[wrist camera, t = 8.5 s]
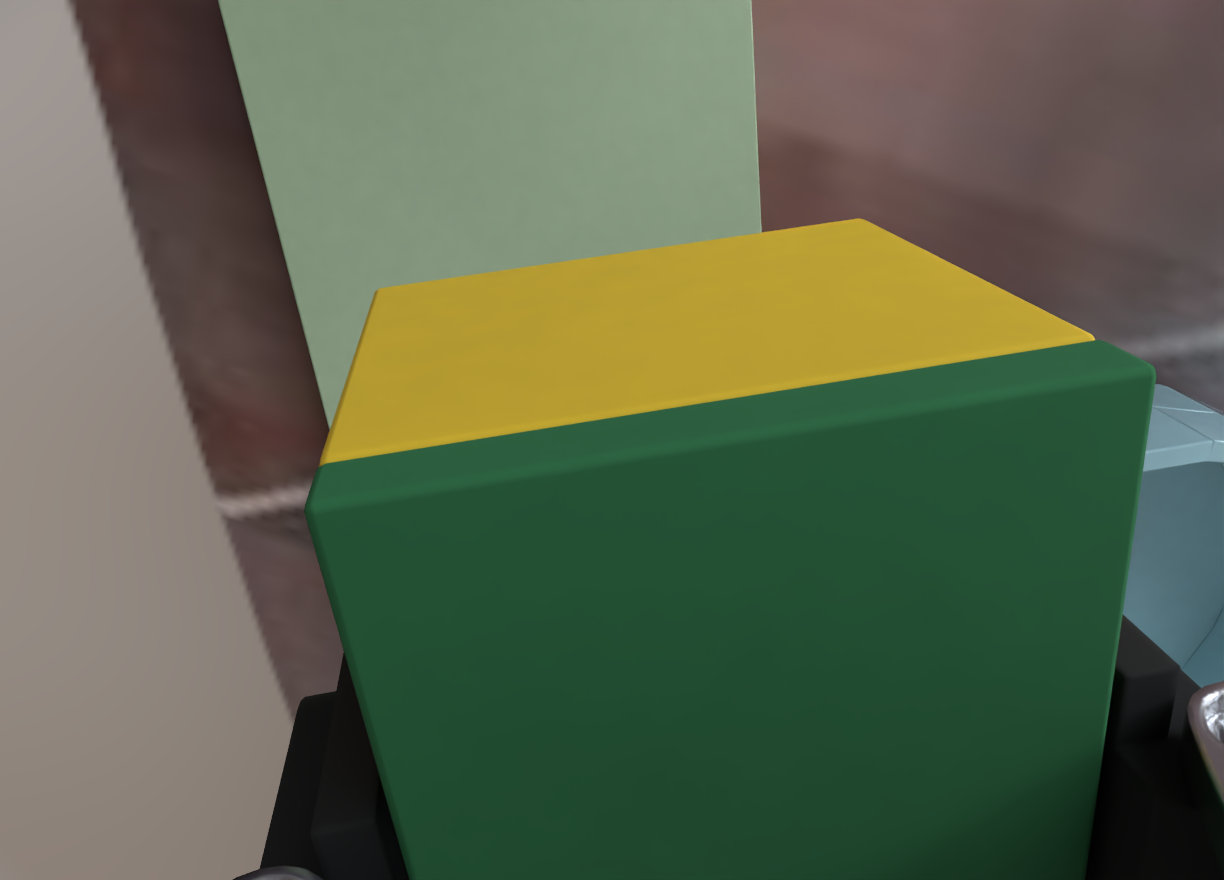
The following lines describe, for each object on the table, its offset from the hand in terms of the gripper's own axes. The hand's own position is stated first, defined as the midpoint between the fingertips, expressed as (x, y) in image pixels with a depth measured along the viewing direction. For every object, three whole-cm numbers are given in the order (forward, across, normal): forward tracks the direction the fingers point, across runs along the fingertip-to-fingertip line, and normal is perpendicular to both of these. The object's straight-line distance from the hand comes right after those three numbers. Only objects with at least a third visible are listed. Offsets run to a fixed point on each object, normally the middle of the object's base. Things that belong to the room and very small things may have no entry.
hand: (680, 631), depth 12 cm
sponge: (+2, 0, 0) cm, 2 cm away
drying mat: (+15, +1, -1) cm, 15 cm away
